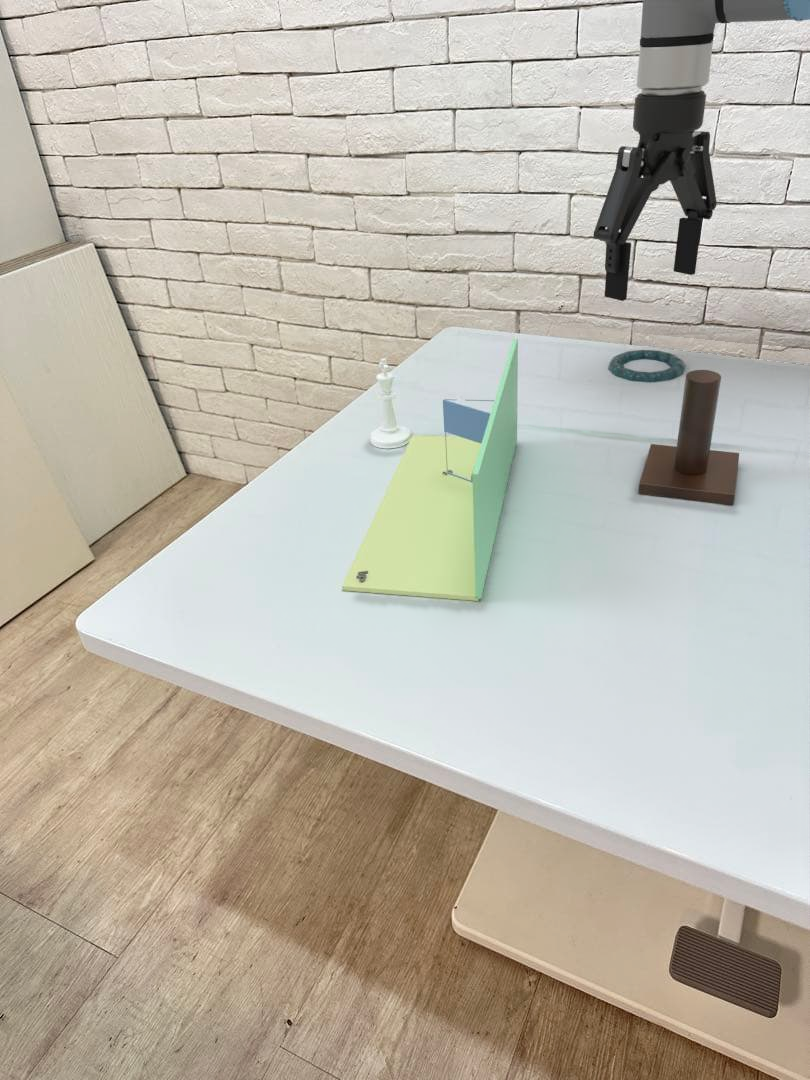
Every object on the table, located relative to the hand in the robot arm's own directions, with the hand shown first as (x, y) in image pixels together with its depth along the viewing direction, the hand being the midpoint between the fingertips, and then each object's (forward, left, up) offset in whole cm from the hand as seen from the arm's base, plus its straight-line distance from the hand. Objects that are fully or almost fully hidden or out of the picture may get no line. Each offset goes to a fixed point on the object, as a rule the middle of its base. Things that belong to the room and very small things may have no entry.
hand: (650, 285), depth 99 cm
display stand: (+15, +39, -12) cm, 43 cm away
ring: (0, 0, -11) cm, 11 cm away
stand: (-8, +27, -12) cm, 30 cm away
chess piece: (+26, +26, -12) cm, 38 cm away
